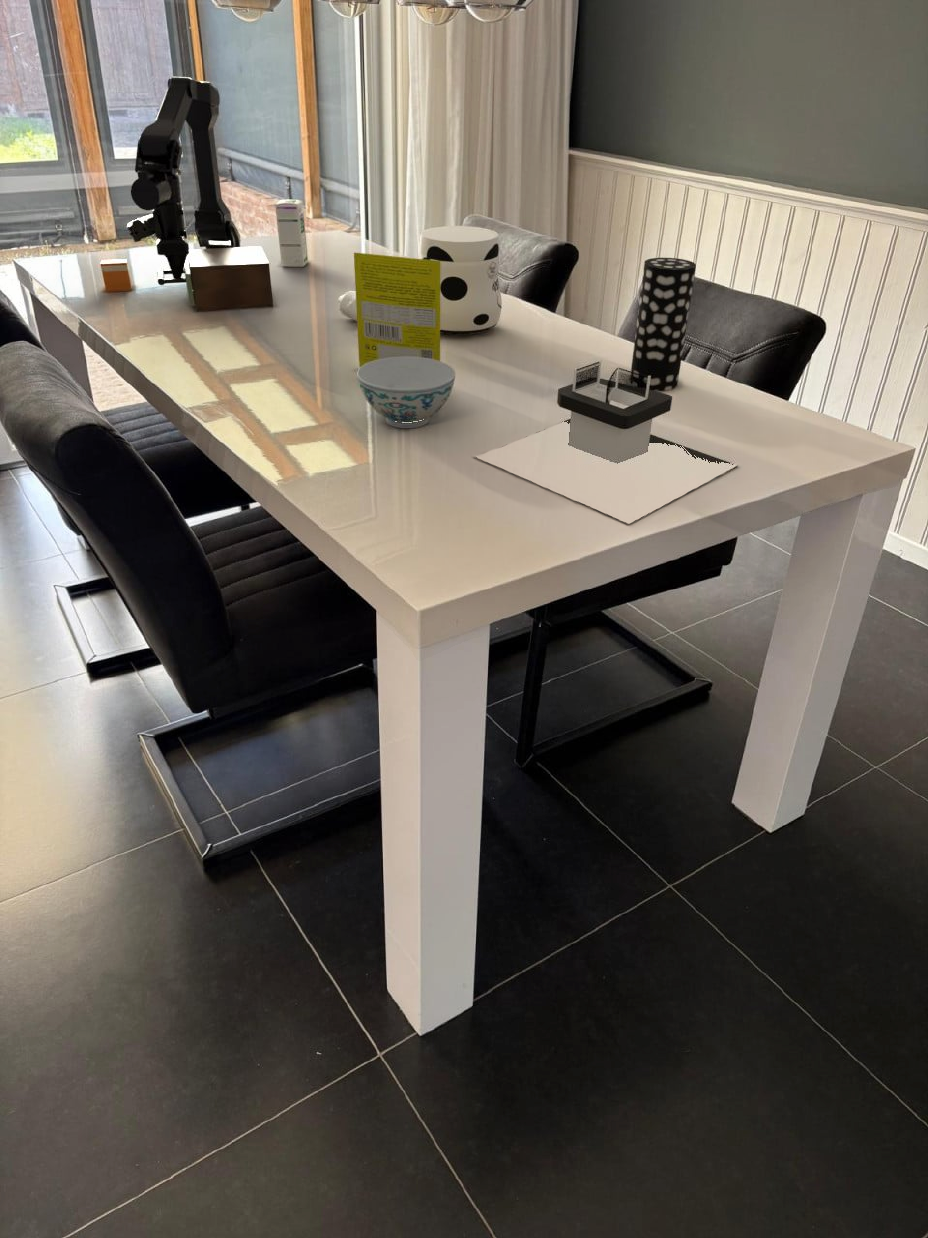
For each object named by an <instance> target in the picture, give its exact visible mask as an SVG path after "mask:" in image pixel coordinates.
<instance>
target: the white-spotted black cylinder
mask: <svg viewBox="0 0 928 1238" xmlns="http://www.w3.org/2000/svg"><path fill="white" fill-rule="evenodd" d="M696 269H697V264H696V263H695V262H694V261H691V260H688V259H684V258H675V257H653V258H648V259H646V260H644V262H643V271H642V279H641V287H640V296H639V303H638V312H637V320H636V327H635V328H636V329H635V336H634V343H633V351H632V360H631V367H630V371H631V372H635V373H638V374H641V375H644V376H647V377H648V376H651V378H650V385H649V390H653V391H657V392H663V391H664V392H665V391H670V390H673V389H675V388H677V387H678V383H679V377H680V371H681V366H682V358H683V351H684V347H685V345H684V344H685V338H686V333H687V326H688V321H689V313H690V307H691V300H692V294H693V288H694V281H695V275H696ZM631 375H632V376H634V377H636V376H635V374H634V373H631ZM632 376H631V378H632V380H633V381H634V383H635V385H636V386H637V384H636V382H635V380H634V379H633V377H632ZM639 378H640V379H642V377H641V376H640V375H638V378H637V379H638V381H639V382H640V380H639ZM635 379H636V378H635ZM644 379H645V380H647V381H648V379H647V378H646V377H644ZM630 380H631V379H630ZM645 380H644V382H645V384H646V386H647V383H646V381H645ZM636 381H637V380H636ZM631 382H632V381H631ZM640 384H641V386H642V388H644V387H643V385H642V383H641V382H640ZM643 384H644V383H643ZM639 386H640V385H639ZM644 386H645V385H644ZM637 387H638V386H637ZM640 388H641V387H640Z"/></svg>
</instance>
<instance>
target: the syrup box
mask: <svg viewBox="0 0 928 1238" xmlns="http://www.w3.org/2000/svg"><path fill="white" fill-rule="evenodd" d="M303 203H304V201H303V200H301V199H292V198H291V199H279V201H277V203H275V205H274V206H275V215H276V226H277V234H278V244H279V252H280V253H279V254H280V262H281V266H282V267H289V268H291V267H292V268H294V267H295V268H303V267H305V265H306V264H307V263H308V262H309V257H308V246H307V245H308V244H307V234H306V224H305V214H304V205H303Z"/></svg>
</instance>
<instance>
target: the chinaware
mask: <svg viewBox="0 0 928 1238" xmlns="http://www.w3.org/2000/svg"><path fill="white" fill-rule="evenodd" d="M356 377H357V380H358V385H359V387H360V390H361V392H362V395H363V396H364V399H365V400H366V402H367V403H368V404H369V406H370V407H371V408H372V409H373V410H374V411H375V412H376V413H378V414H379V415H381V416H382V417H384V418H385V422H386V423H387V425H389V426H392V427H394V428H395V427H396V428H400V429H413V428H419V427H422V426H424V425H426V424H427V423H428V422H429V418H430V417H432V416H433V415H435V414H436V413H437V412H438V411H439V410H440V409H442V407H443V406H444V405H445V404H446V402H447V401H448V399H449V397H450V395H451V392H452V390H453V387H454V384H455V379H456V371H455V369H454V368H453V367H452V366H451V365H449V364H448V363H446V362H443V361H442V360H440V361H438V360H434V359H429V358H422V357H390V358H383V359H378V360H374V361H371V362H369V363H366V364H364V365H363V366H361V367H360V368H358V369H357V372H356ZM423 419H424V420H423ZM419 420H422V421H419ZM395 421H397V422H395ZM413 421H418V422H413ZM402 422H412V423H402Z"/></svg>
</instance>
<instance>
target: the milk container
mask: <svg viewBox="0 0 928 1238" xmlns="http://www.w3.org/2000/svg"><path fill="white" fill-rule="evenodd" d="M418 246H419V247H418V248H419V255H418V259H424V260H434V261H440V334H446V335H447V334H448V335H454V336H455V335H465V336H466V335H472V334H473V335H474V334H479V333H483V332H487V331H490V330H491V329H493V328H494V327H496V325H497V324H498V323H499V321H500V318H501V315H502V307H503V305H502V304H503V302H502V300H503V299H502V293H501V291H500V286H499V285H500V284H499V267H500V255H499V254H500V236H499V233H498V232H496V231H495V230H493V229H489V228H485V227H479V226H469V225H446V226H444V225H443V226H436V227H430V228H426V229H424V230H422V231H421V233H420V235H419V245H418Z"/></svg>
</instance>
